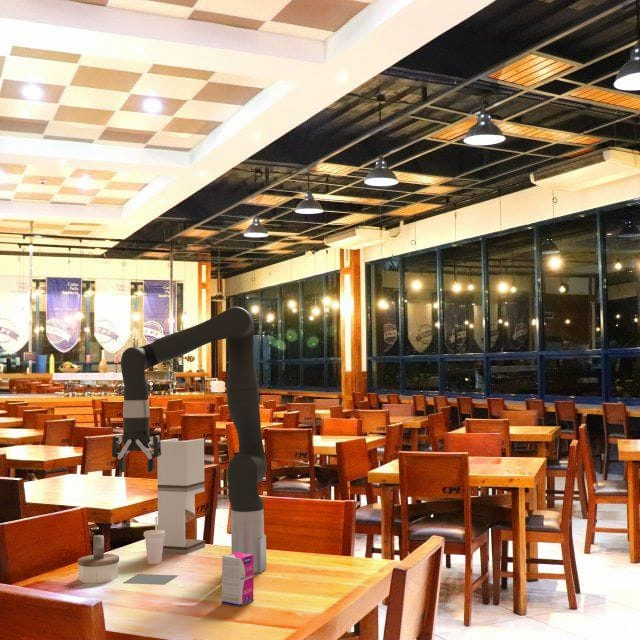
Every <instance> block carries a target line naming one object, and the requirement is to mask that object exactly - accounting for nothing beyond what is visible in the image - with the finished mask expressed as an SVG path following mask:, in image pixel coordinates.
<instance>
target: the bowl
mask: <svg viewBox="0 0 640 640" xmlns="http://www.w3.org/2000/svg"><path fill="white" fill-rule="evenodd" d="M118 565H119V562H117V563H115V564H111V565H106V566H97V567H86V566H80V565H78V580H79V581H80V582H82V583H83V584H99V583H105V582H106V583H107V582H112V581H115V579H118V577H119V575H118V574H119V571H118V569H119V568H118V567H119V566H118Z"/></svg>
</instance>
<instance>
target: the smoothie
mask: <svg viewBox="0 0 640 640" xmlns="http://www.w3.org/2000/svg"><path fill="white" fill-rule="evenodd" d="M154 520H155V524H154V525H155V528H154V529H150V530H145V531H143V537H144V541H145V542H144V543H145V549H146V550H145V551H146V556H147V563H148V565H159V564H162V559H163V553H164V552H163V543H164V535H165V531H164V530H158V516H155V518H154Z"/></svg>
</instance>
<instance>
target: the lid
mask: <svg viewBox="0 0 640 640" xmlns="http://www.w3.org/2000/svg"><path fill="white" fill-rule="evenodd" d="M104 538H105V537H104V535H101V534H98V535H93V538H92V539H93V541H92V543H93V544H92V545H93V547H92V548H93V551H92V552H93V554H90V555H85V556H82V557H79V558H78V559H77V565H78V566H79V565H80V566H86V567H97V566H106V565H111V564H115V563H117V562H118V563H119V561H120V555H117V554H111V553H105V546H104V545H105V539H104Z"/></svg>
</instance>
